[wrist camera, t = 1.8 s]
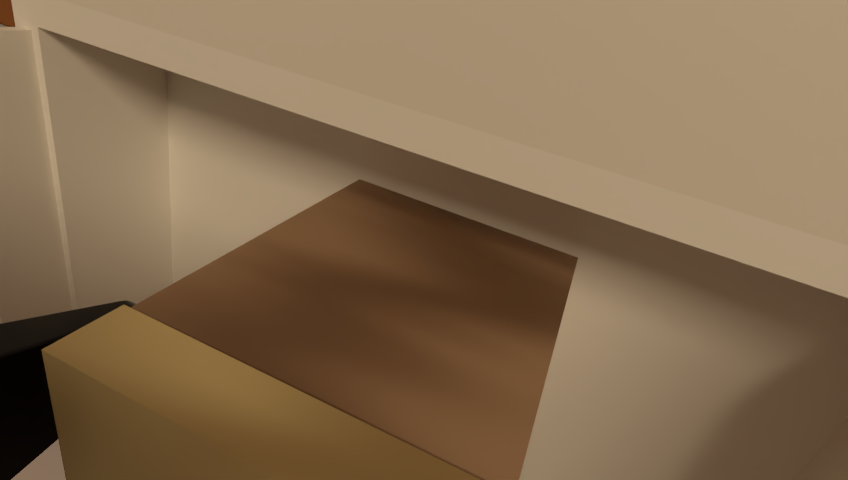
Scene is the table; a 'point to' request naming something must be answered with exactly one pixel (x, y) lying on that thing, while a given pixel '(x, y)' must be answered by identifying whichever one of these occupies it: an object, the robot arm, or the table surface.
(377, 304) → the tea box
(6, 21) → the table surface
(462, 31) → the cream tray
